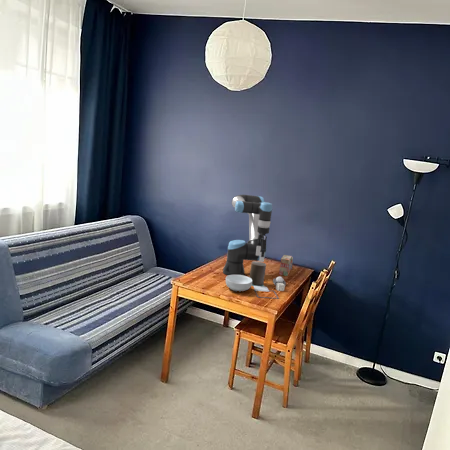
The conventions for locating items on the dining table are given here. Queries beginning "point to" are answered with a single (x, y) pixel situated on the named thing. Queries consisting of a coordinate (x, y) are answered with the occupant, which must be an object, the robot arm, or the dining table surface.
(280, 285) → the die
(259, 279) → the pillar candle
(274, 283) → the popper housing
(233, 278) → the cereal bowl
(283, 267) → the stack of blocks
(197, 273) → the dining table surface
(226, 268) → the robot arm
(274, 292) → the ring
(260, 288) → the pad one
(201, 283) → the dining table surface
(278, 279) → the dome
